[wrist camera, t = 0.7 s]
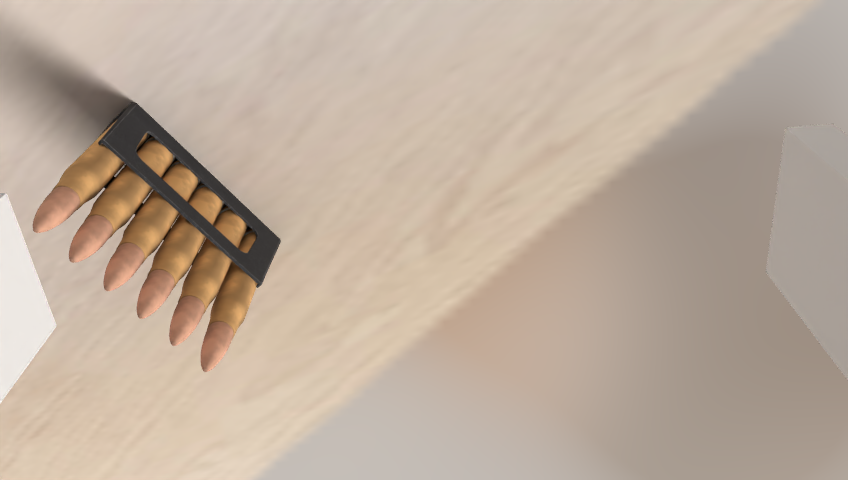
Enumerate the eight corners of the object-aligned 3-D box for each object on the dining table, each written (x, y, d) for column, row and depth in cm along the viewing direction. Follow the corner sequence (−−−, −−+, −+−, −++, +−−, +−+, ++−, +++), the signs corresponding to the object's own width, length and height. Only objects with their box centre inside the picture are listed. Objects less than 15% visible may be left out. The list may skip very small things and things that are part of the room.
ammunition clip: (110, 122, 41) (0, 227, 30) (133, 100, 40) (29, 199, 30) (258, 259, 45) (207, 395, 34) (281, 240, 44) (236, 373, 33)
